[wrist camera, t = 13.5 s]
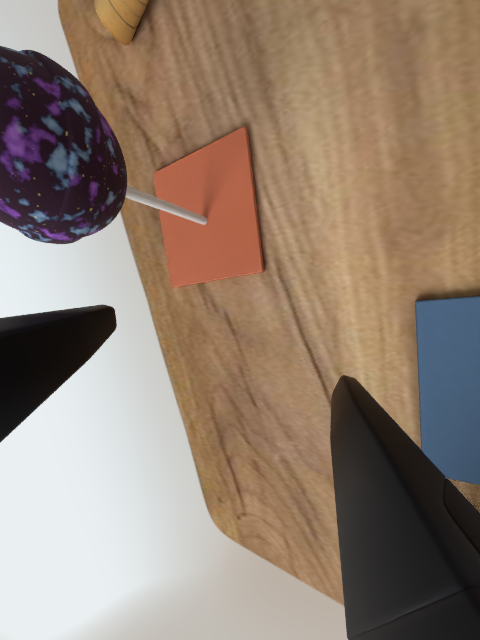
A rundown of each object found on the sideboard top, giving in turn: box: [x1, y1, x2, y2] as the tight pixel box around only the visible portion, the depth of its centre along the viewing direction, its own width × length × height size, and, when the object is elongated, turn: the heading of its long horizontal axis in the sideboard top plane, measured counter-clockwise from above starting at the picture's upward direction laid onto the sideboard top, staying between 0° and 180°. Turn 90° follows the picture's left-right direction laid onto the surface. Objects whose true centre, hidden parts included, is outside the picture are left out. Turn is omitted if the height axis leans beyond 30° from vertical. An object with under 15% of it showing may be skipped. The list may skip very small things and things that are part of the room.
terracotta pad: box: [153, 126, 264, 287], centre depth 20 cm, size 11×10×1 cm
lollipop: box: [0, 46, 207, 244], centre depth 14 cm, size 7×7×15 cm
